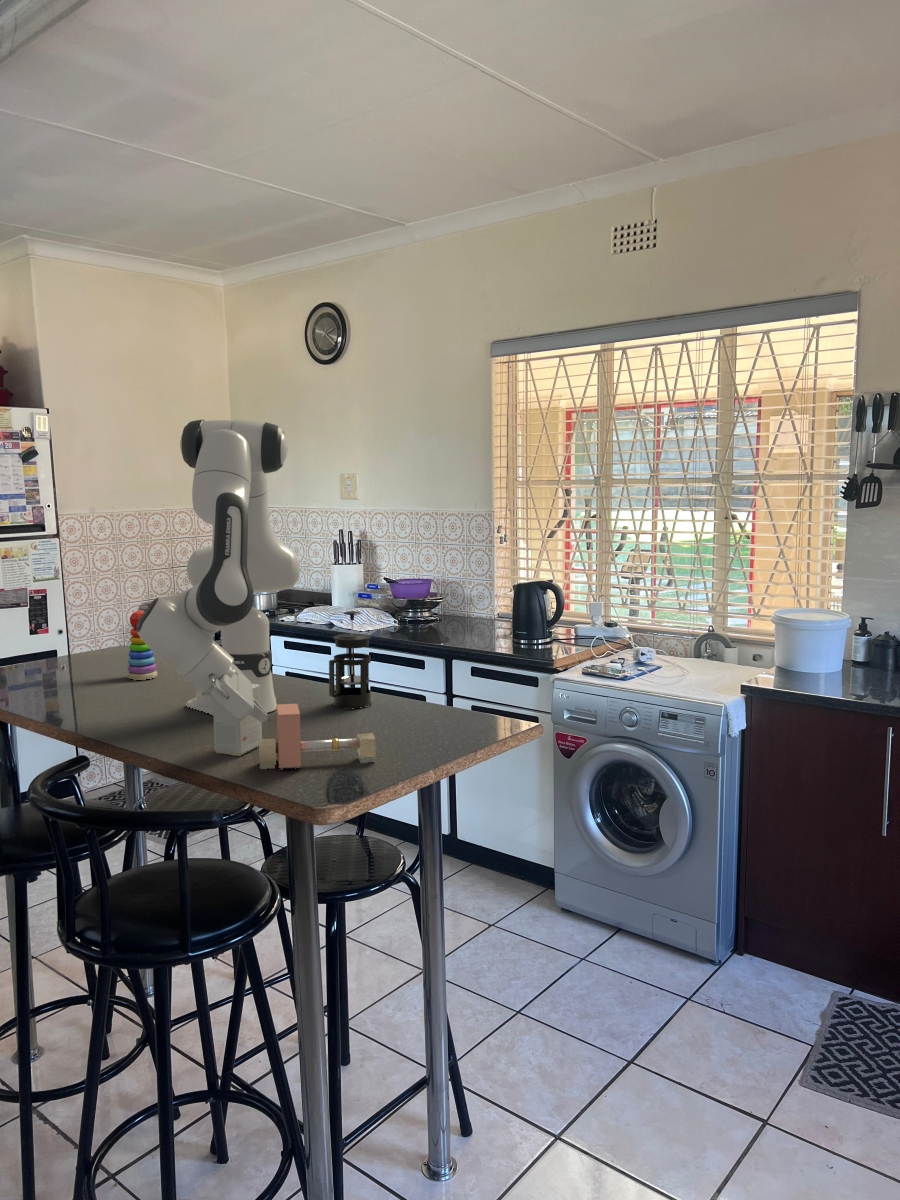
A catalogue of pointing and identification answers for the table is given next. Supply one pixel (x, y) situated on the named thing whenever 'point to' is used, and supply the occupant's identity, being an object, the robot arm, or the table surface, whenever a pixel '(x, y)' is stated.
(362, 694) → the french press
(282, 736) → the collar
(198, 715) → the table surface
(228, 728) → the small box
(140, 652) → the stacking toy
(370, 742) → the pipe rig
